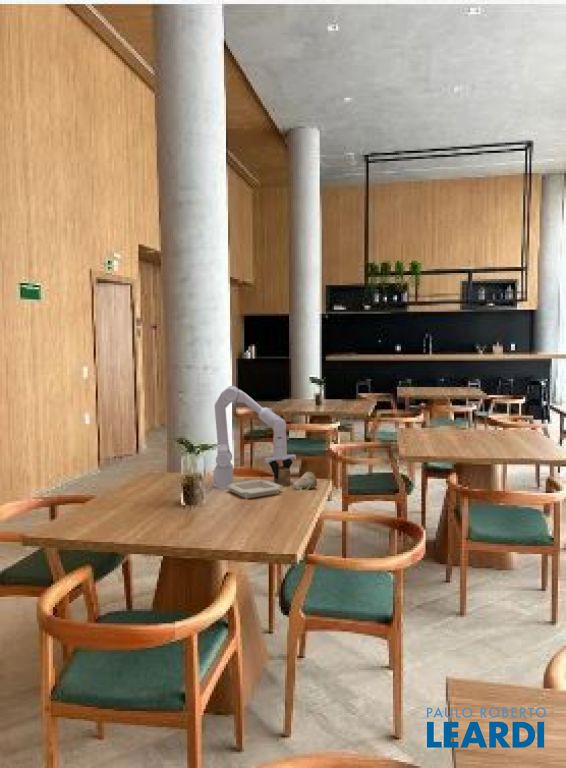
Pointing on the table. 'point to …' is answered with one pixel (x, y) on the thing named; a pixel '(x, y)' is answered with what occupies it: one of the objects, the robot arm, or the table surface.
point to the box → (283, 476)
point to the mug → (306, 482)
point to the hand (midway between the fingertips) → (281, 477)
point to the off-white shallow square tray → (254, 488)
